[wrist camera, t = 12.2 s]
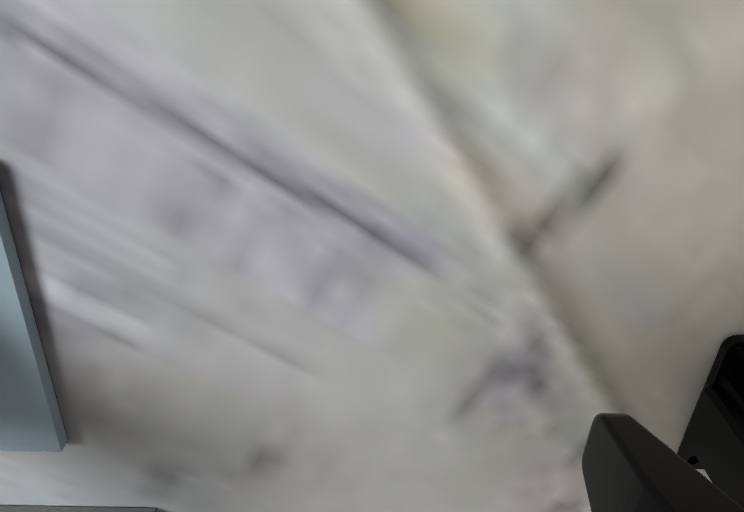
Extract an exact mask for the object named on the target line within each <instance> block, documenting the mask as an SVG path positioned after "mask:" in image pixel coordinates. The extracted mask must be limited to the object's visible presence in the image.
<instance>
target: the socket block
mask: <svg viewBox="0 0 744 512" xmlns="http://www.w3.org/2000/svg"><path fill="white" fill-rule="evenodd" d="M0 512H156V508H120V507H62V506H4V505H0Z"/></svg>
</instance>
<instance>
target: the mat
mask: <svg viewBox="0 0 744 512" xmlns="http://www.w3.org/2000/svg"><path fill="white" fill-rule="evenodd" d="M66 442H67V437H66V433H65V429H64V426H63V422H62V418H61V414H60V411H59V407H58V403H57V400H56V396H55V392H54V389H53V385H52V381H51V377H50V374H49V370H48V366H47V363H46V359H45V355H44V351H43V348H42V344H41V340H40V337H39V333H38V329H37V326H36V322H35V318H34V314H33V311H32V307H31V303H30V300H29V296H28V292H27V288H26V285H25V281H24V277H23V274H22V270H21V266H20V262H19V259H18V255H17V251H16V248H15V244H14V240H13V237H12V233H11V229H10V225H9V222H8V218H7V214H6V211H5V207H4V203H3V199H2V196H1V192H0V450H11V451H60V452H61V451H62V449H63V447H64V445H65V443H66Z"/></svg>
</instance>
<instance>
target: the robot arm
mask: <svg viewBox="0 0 744 512" xmlns="http://www.w3.org/2000/svg"><path fill="white" fill-rule="evenodd" d="M739 347H740V348H739ZM737 348H739V349H738V350H736V351H734V350H735V349H737ZM696 469H705V471H706V473H707V474H708V476H709V478H710V479H711V481H712V482H711V481H709V480H708V479H707V478H706V477H705V476H703V475H702V474H701V473H700V472H698V471H697V470H696ZM582 470H583V475H584V480H585V484H586V489H587V493H588V498H589V502H590V507H591V511H592V512H744V335H733V336H731V337H728V338H727V339H726V340H724V341H723V343H722V344H721V346H720V349H719V351H718V353H717V356H716V358H715V361H714V363H713V366H712V368H711V371H710V373H709V376H708V378H707V381H706V383H705V386H704V388H703V390H702V392H701V395H700V397H699V399H698V402H697V404H696V407H695V409H694V412H693V414H692V417H691V419H690V422H689V424H688V427H687V429H686V432H685V434H684V437H683V440H682V442H681V445H680V447H679V450H678V452H677V454H676V453H675V452H674V451H673V450H672V449H670V448H669V447H668V446H667V445H665V444H664V443H663V442H662V441H661V440H659V439H658V438H657V437H656V436H654V435H653V434H652V433H651V432H650V431H648V430H647V429H646V428H645V427H643V426H642V425H641V424H640V423H639V422H637V421H636V420H635V419H634V418H632V417H631V416H629V415H627V414H621V413H600V414H598V415H596V417H595V418H594V420H593V423H592V426H591V429H590V433H589V436H588V439H587V443H586V446H585V449H584V453H583V457H582Z"/></svg>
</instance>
